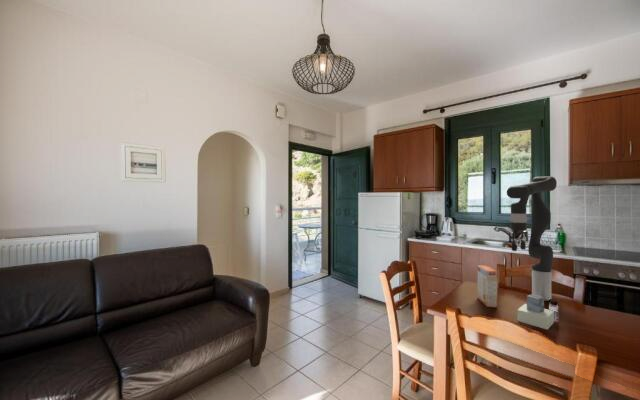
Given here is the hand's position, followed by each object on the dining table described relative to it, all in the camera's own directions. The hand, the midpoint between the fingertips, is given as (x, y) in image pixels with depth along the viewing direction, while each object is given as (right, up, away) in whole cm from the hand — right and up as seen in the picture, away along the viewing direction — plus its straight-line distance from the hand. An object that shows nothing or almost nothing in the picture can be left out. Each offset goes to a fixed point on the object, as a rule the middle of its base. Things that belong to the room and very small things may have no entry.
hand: (518, 250), depth 152 cm
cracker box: (-12, -33, +9) cm, 37 cm away
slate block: (-3, -28, -15) cm, 32 cm away
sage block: (-3, -34, -15) cm, 37 cm away
